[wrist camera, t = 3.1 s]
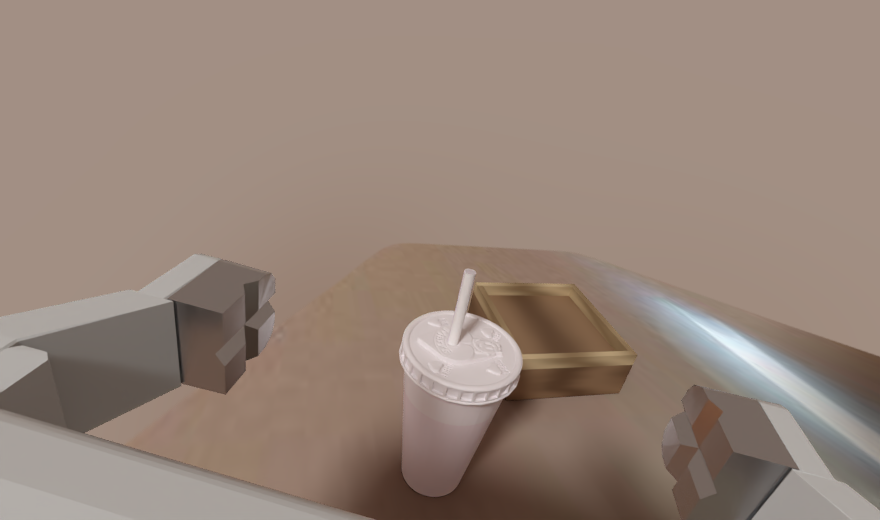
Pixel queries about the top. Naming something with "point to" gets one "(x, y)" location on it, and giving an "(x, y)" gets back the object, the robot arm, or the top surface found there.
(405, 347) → the smoothie
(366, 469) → the top surface
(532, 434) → the top surface
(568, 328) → the wooden tray
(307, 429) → the top surface
